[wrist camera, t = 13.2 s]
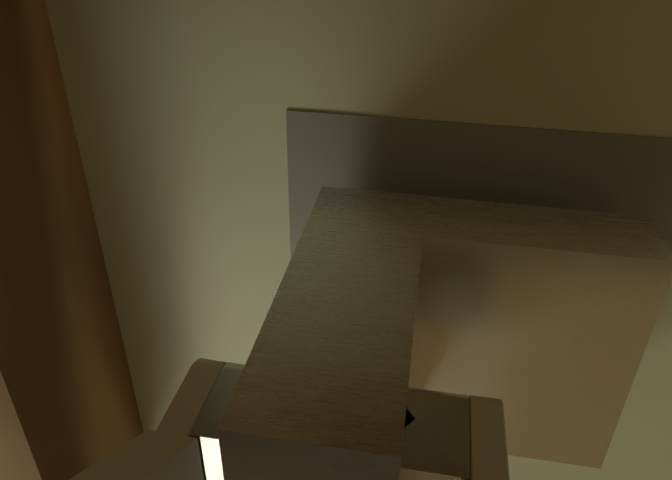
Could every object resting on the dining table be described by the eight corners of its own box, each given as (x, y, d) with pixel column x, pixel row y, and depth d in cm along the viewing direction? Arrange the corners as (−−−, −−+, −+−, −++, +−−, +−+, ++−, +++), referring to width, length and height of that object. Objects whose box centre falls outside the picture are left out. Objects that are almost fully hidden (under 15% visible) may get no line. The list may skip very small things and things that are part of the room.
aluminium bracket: (322, 186, 12) (217, 429, 7) (652, 215, 11) (823, 520, 6) (322, 376, 14) (247, 654, 9) (587, 412, 13) (665, 740, 8)
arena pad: (121, 432, 19) (111, 449, 19) (-68, -306, 10) (-99, -316, 9) (720, 528, 17) (729, 550, 16) (1227, -345, 7) (1289, -363, 7)
